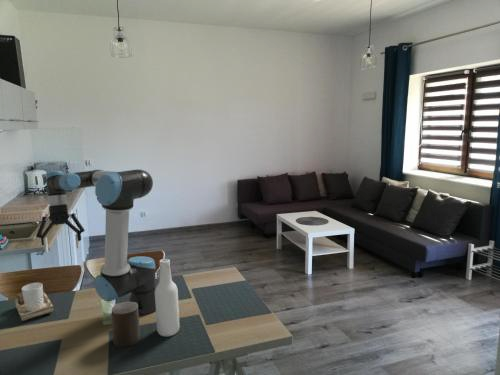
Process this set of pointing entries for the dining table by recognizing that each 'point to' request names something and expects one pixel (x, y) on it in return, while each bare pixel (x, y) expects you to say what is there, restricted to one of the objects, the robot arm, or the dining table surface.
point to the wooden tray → (30, 314)
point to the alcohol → (166, 302)
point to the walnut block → (20, 299)
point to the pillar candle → (125, 324)
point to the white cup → (33, 296)
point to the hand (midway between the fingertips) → (62, 249)
